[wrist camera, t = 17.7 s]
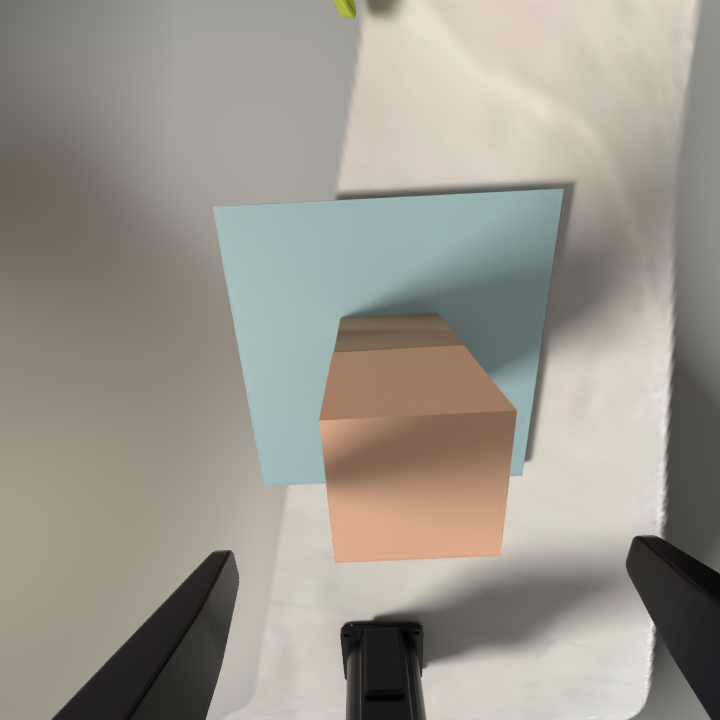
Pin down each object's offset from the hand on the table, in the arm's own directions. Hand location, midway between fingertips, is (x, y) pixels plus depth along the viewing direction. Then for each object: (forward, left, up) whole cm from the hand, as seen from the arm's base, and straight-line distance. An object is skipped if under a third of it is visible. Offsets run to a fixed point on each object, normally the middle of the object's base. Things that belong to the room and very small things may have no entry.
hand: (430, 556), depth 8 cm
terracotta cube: (0, 0, -7) cm, 7 cm away
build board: (0, 0, -13) cm, 13 cm away
